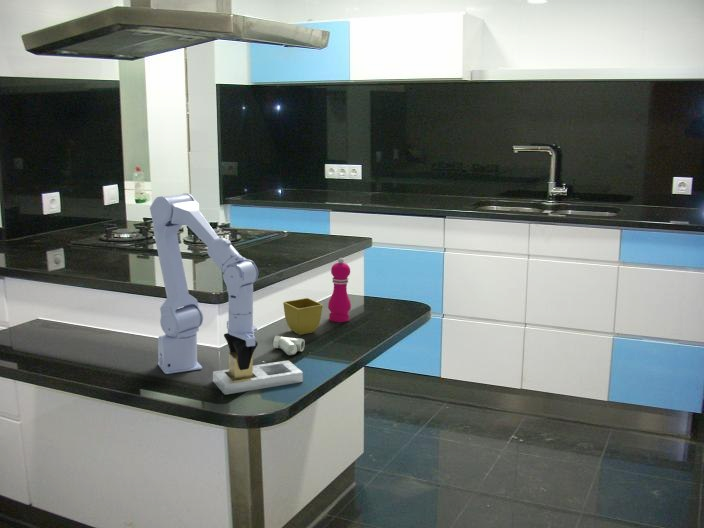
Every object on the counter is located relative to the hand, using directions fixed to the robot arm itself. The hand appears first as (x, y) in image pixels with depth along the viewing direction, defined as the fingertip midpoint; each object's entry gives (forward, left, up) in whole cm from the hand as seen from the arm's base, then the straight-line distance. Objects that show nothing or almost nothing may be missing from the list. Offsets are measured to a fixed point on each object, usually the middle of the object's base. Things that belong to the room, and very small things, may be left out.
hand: (240, 365), depth 176 cm
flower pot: (+31, +31, -5) cm, 44 cm away
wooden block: (0, 0, -3) cm, 3 cm away
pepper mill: (+47, +38, -5) cm, 60 cm away
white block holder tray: (+5, 0, -5) cm, 7 cm away
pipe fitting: (+20, +17, -5) cm, 27 cm away
